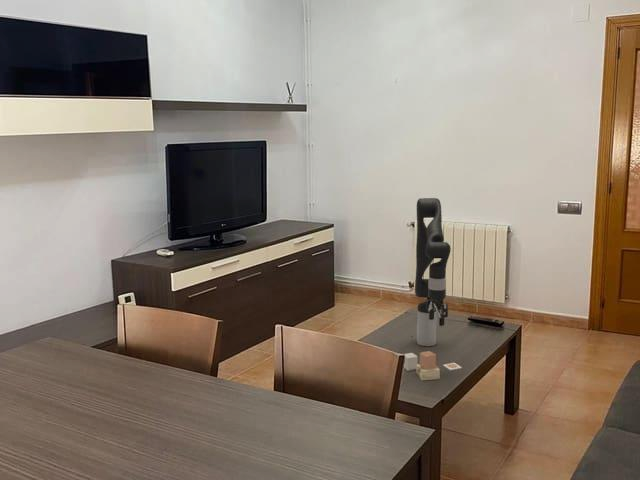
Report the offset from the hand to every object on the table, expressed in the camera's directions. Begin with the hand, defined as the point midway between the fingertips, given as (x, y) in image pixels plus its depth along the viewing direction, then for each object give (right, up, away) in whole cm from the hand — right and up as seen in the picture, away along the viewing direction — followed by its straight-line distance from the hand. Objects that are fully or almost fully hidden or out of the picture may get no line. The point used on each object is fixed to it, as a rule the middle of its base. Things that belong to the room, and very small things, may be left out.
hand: (436, 322), depth 273 cm
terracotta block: (-4, -19, 0) cm, 20 cm away
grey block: (-10, -22, +9) cm, 26 cm away
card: (+9, -21, +9) cm, 25 cm away
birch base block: (-4, -24, 0) cm, 24 cm away
